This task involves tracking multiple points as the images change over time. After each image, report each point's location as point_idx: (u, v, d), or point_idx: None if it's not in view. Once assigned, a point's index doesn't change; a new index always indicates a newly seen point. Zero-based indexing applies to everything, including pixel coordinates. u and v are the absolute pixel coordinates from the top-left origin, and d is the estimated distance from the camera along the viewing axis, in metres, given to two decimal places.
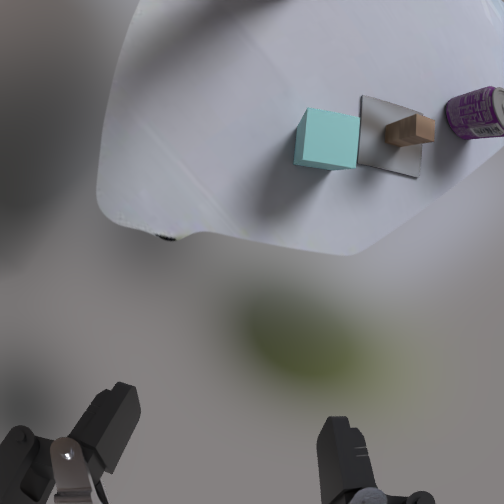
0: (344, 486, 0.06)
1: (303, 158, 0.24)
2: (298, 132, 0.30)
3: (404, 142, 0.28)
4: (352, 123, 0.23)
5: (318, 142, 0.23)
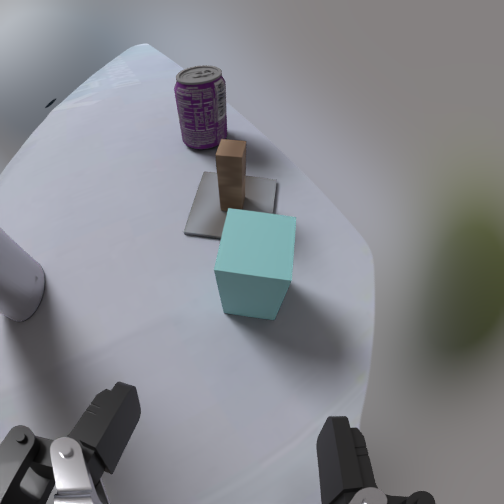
0: (344, 486, 0.06)
1: (289, 279, 0.18)
2: (235, 306, 0.25)
3: (243, 184, 0.30)
4: (236, 216, 0.20)
5: (265, 259, 0.19)
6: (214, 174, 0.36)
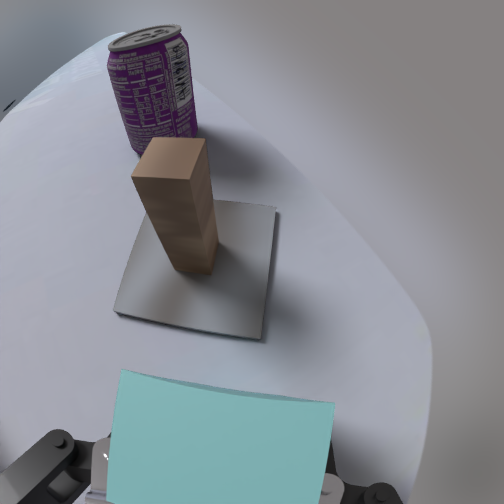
0: None
1: None
2: None
3: (209, 227, 0.15)
4: (143, 404, 0.05)
5: None
6: None
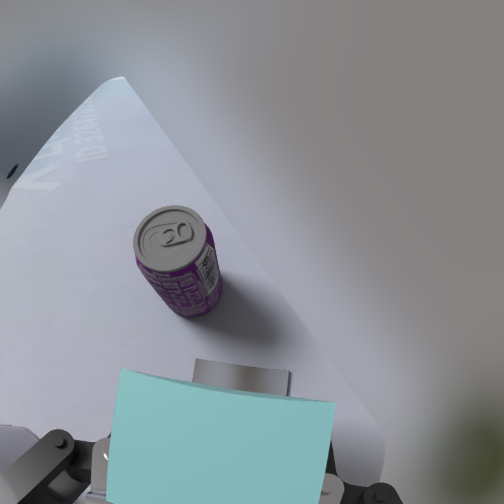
0: None
1: None
2: None
3: None
4: (143, 404, 0.05)
5: None
6: (209, 363, 0.27)
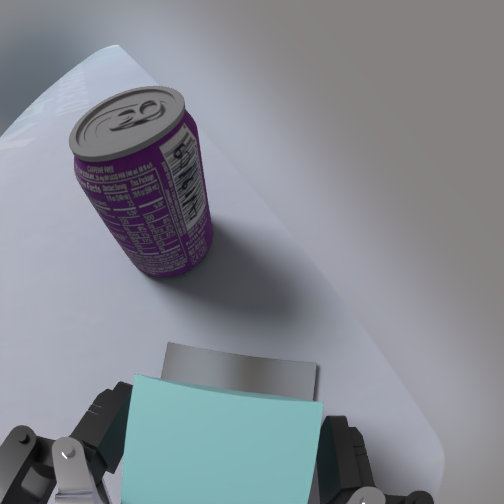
0: (342, 485, 0.06)
1: None
2: None
3: None
4: (155, 405, 0.06)
5: None
6: (188, 351, 0.17)
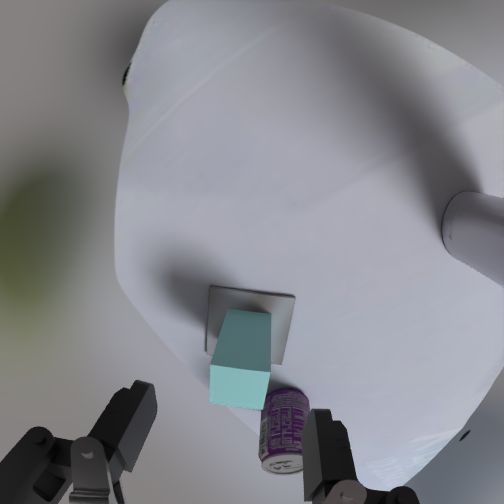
0: (323, 477, 0.06)
1: (211, 364, 0.22)
2: (259, 325, 0.29)
3: None
4: (255, 404, 0.23)
5: (230, 378, 0.22)
6: None
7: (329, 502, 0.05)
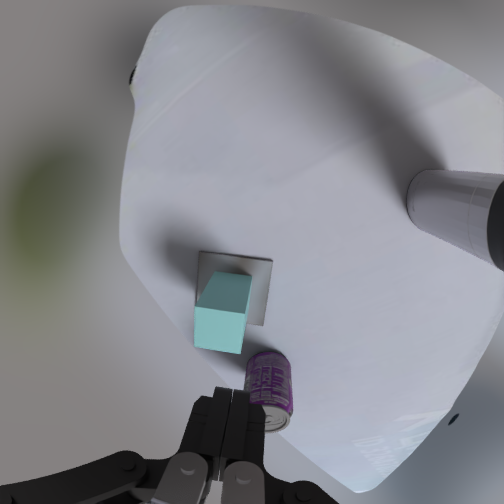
0: (223, 454, 0.07)
1: (195, 306, 0.27)
2: (240, 283, 0.34)
3: None
4: (234, 347, 0.28)
5: (211, 320, 0.28)
6: (252, 322, 0.39)
7: (228, 489, 0.05)
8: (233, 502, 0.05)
